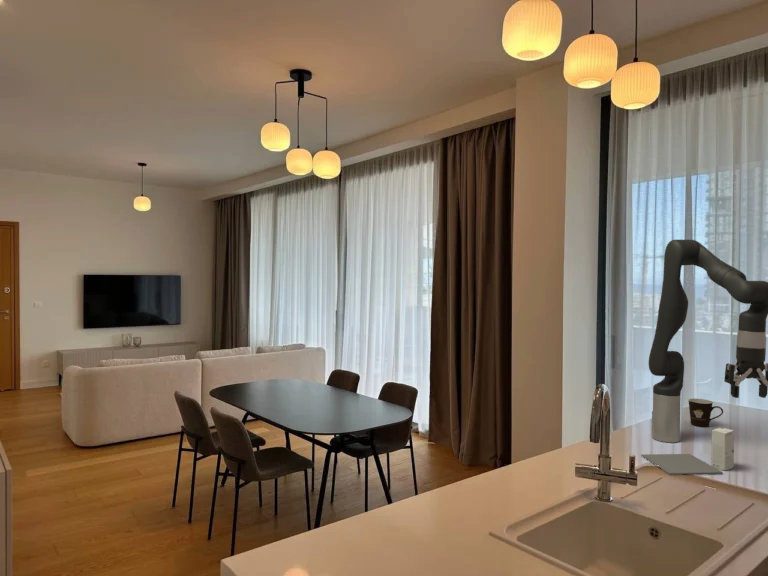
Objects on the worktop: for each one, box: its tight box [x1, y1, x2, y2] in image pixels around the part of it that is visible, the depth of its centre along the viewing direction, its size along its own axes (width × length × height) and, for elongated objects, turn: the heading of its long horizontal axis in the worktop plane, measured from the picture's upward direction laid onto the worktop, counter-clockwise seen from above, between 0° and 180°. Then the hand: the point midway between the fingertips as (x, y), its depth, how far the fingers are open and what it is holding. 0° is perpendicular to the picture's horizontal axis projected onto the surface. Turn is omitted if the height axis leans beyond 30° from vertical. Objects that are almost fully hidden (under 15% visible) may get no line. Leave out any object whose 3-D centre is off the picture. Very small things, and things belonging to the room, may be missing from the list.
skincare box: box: [711, 427, 735, 471], centre depth 175 cm, size 6×4×12 cm
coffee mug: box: [688, 397, 724, 428], centre depth 221 cm, size 12×9×10 cm
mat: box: [640, 453, 723, 476], centre depth 178 cm, size 17×17×1 cm
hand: (748, 397), depth 168 cm, fingers open, 8 cm apart
